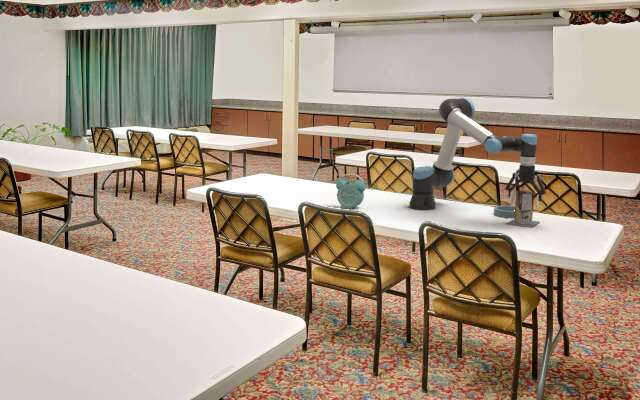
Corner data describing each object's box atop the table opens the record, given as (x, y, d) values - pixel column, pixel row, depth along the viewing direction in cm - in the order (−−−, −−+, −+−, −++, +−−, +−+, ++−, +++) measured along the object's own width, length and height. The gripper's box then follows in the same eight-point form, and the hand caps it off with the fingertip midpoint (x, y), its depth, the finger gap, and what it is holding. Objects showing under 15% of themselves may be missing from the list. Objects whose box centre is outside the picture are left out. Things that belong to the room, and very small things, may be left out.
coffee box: (532, 224, 316) (534, 193, 312) (520, 224, 315) (522, 193, 312) (525, 220, 325) (527, 190, 321) (513, 220, 324) (515, 190, 321)
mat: (506, 224, 318) (506, 222, 318) (515, 219, 329) (515, 218, 329) (531, 227, 311) (531, 226, 311) (539, 222, 321) (539, 221, 321)
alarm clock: (333, 208, 355) (333, 173, 351) (339, 205, 364) (339, 171, 360) (361, 210, 349) (362, 175, 345) (367, 207, 357) (367, 173, 353)
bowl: (489, 215, 337) (490, 209, 337) (500, 210, 350) (500, 204, 349) (518, 219, 328) (518, 213, 328) (527, 214, 341) (527, 208, 340)
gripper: (500, 163, 318) (498, 203, 322) (550, 168, 303) (546, 210, 308) (505, 161, 324) (503, 201, 328) (554, 166, 309) (551, 207, 314)
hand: (524, 205), depth 318 cm, fingers open, 13 cm apart
